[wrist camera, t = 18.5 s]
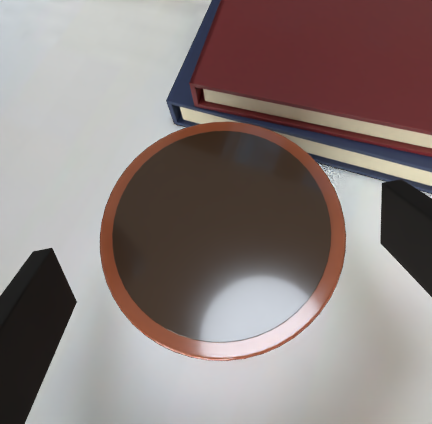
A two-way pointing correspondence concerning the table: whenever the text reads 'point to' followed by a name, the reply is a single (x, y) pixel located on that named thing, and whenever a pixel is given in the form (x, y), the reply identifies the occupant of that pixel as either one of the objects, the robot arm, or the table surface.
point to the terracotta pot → (222, 241)
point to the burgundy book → (323, 68)
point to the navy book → (301, 131)
